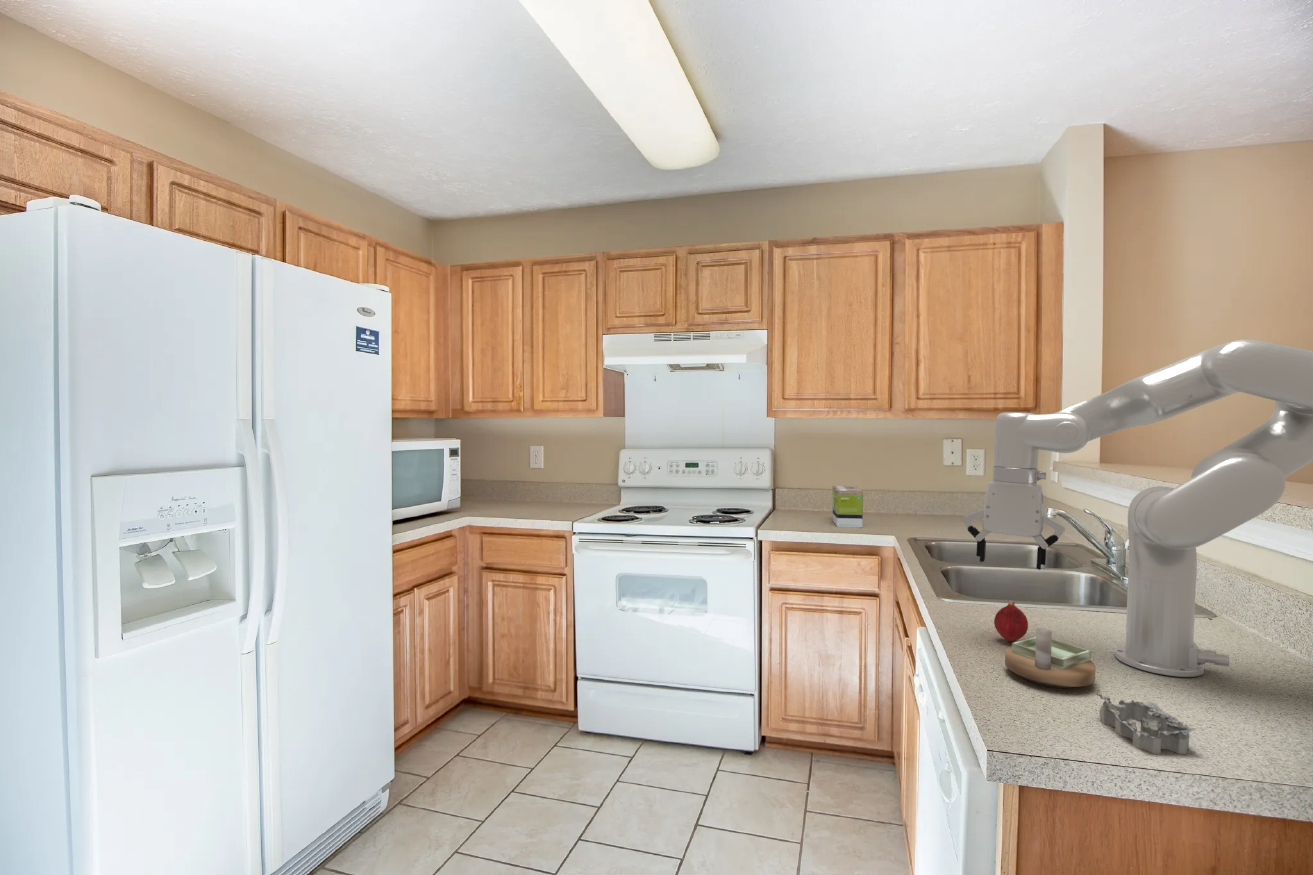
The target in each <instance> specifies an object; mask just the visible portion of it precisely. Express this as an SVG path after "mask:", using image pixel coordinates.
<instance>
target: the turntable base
mask: <svg viewBox="0 0 1313 875" xmlns="http://www.w3.org/2000/svg"><path fill="white" fill-rule="evenodd" d="M1023 678H1025V677H1023ZM1025 679H1026V680H1028V681H1030V682H1031V683H1035V684H1038V685H1042V686H1045V687H1050V688H1057V689H1069V688H1071V687H1070V686H1059V685H1052V684H1047V683H1042V682H1038V681H1034V680H1031V679H1028V678H1025Z"/></svg>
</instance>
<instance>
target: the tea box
mask: <svg viewBox="0 0 1313 875" xmlns="http://www.w3.org/2000/svg"><path fill="white" fill-rule="evenodd" d="M863 509H864V491H863V490H862V489H860V488H859V487H858V486H853V485H852V486H851V485H849V486H847V485H834V486H832V521H833V522H834V524H835V526H836V527H837V528H850V529H852V528H853V529H855V528H857V529H860V528H861V529H862V528H863V524H864V523H863V521H864V518H863V516H864V515H863V513H864V510H863Z"/></svg>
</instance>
